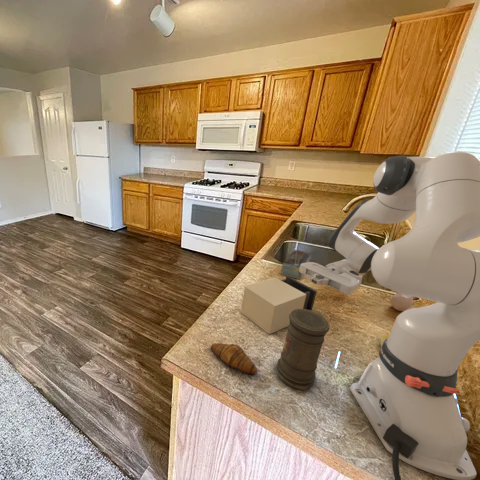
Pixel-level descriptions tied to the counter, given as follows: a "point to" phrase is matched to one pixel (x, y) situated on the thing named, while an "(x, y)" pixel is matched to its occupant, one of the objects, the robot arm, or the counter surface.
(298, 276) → the translucent blue-gray box
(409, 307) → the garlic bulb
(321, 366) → the counter surface
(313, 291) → the angle bracket
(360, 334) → the counter surface
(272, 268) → the counter surface
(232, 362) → the croissant
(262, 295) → the beige rectangular block
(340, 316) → the counter surface
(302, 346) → the container
